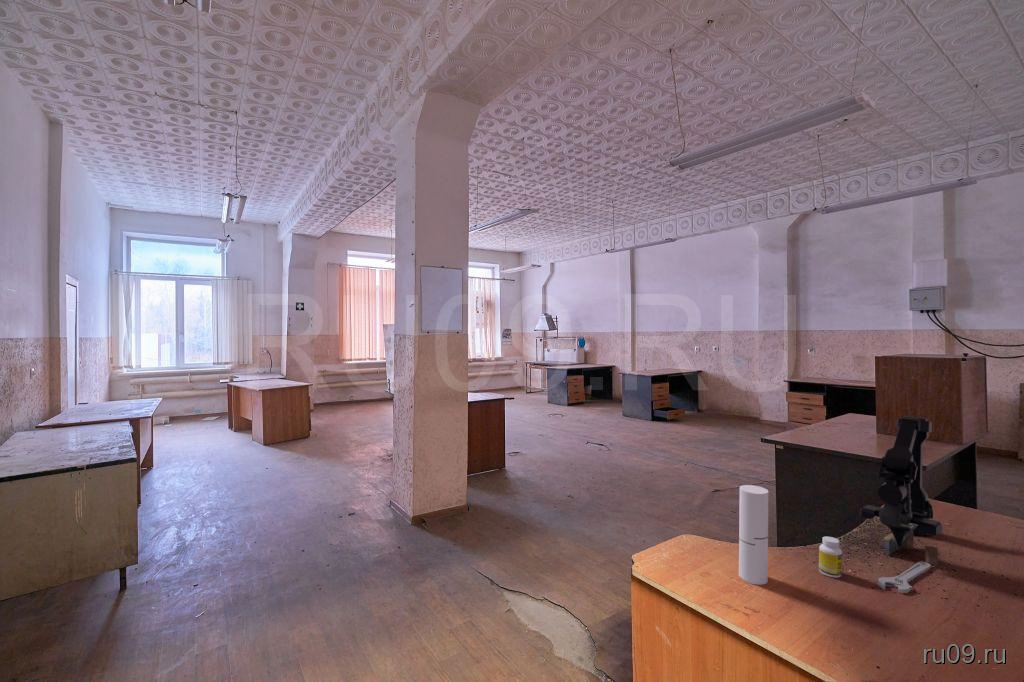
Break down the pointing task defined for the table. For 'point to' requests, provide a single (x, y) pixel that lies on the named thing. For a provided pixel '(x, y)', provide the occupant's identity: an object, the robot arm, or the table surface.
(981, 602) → the table surface
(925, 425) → the robot arm
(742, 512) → the cylindrical container
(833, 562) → the supplement bottle
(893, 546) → the gate panel
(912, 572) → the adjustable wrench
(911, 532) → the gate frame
